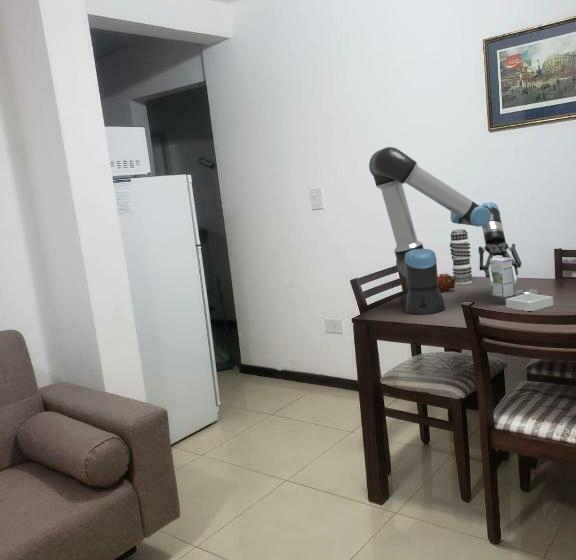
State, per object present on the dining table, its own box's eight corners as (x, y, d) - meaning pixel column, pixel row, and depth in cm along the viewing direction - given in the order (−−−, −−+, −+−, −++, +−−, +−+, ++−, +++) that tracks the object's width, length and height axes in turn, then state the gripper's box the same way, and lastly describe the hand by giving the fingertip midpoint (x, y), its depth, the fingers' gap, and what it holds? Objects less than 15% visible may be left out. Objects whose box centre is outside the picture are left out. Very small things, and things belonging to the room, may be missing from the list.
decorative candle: (449, 284, 262) (444, 231, 259) (459, 280, 268) (455, 229, 265) (466, 285, 256) (462, 230, 252) (477, 281, 262) (472, 228, 258)
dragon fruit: (456, 295, 244) (433, 298, 253) (462, 281, 248) (439, 284, 257) (446, 282, 240) (423, 285, 250) (452, 268, 245) (430, 271, 254)
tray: (529, 311, 195) (529, 302, 194) (506, 307, 205) (505, 299, 204) (553, 305, 199) (552, 296, 198) (528, 301, 209) (528, 293, 208)
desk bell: (526, 301, 210) (526, 292, 210) (507, 298, 220) (506, 290, 219) (546, 296, 214) (545, 288, 214) (526, 293, 223) (525, 285, 223)
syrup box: (514, 295, 211) (512, 257, 209) (503, 297, 208) (501, 259, 206) (501, 293, 216) (500, 256, 214) (491, 296, 213) (489, 258, 211)
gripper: (520, 239, 222) (531, 286, 209) (466, 243, 226) (474, 290, 213) (522, 227, 216) (534, 274, 203) (467, 232, 220) (475, 279, 207)
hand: (503, 282), depth 208 cm, fingers closed on syrup box, 8 cm apart
